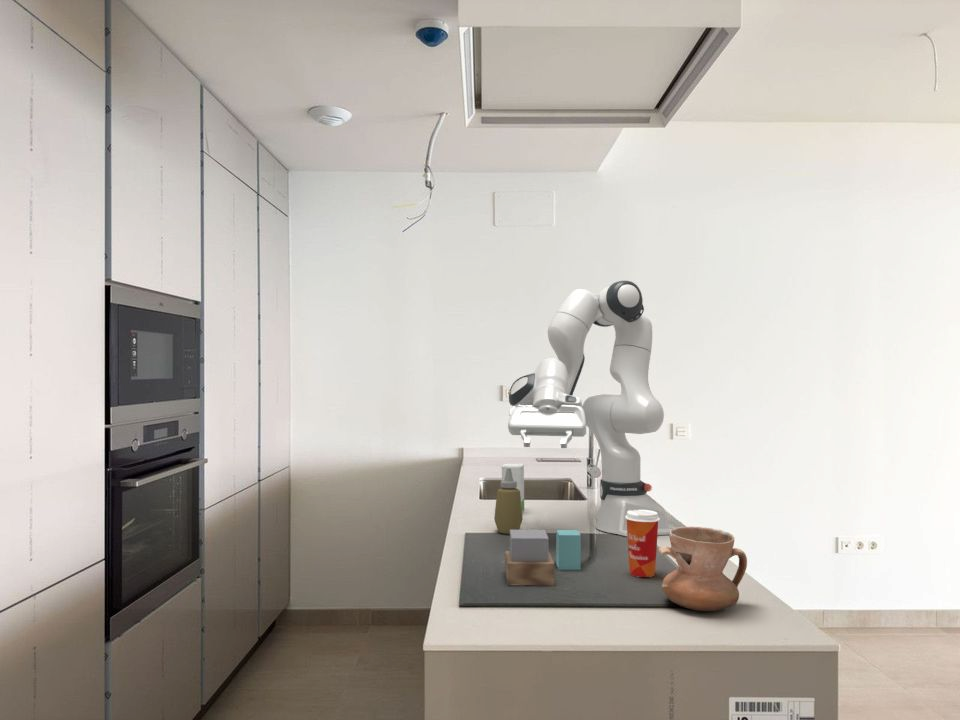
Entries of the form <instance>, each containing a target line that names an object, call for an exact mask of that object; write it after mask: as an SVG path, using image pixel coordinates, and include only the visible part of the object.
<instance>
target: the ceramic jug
mask: <svg viewBox="0 0 960 720" xmlns="http://www.w3.org/2000/svg"><path fill="white" fill-rule="evenodd" d="M668 535H669V541H670V546H671V547H670V546H669V547H668V546H661V547H660V548H658V553H659V555H660V556H667V555H668V556H670V557H672V558H673V559H675V561H676V564H677V566H678V568H676V569H675V570H673V571H671V572H670V573H668V574H666V575H665V577H664V578H663V580H662V583H661V590H662V592H663V594H664V596H665V597H666V598H667V599H668V600H669V601H671V602H672V603H673V604H675V605H677V606H680V607H682V608H686V609H688V610H693V611H698V612H718V611H719V612H720V611H723V610H727V609H729V608H731V607H732V606H735V605H736V604H737V602H738V600H739V597H740V592H739V591H740V590H739V589H738V586H739V585H740V583H741V582H742V580H743V578H744V576H745V573H746V570H747V567H748V558H747V555H746V553H745V552H744V550H742V549H740V548H737V547H734V545H735V536H734V534H732V533H730V532H727V531H724V530H722V529H718V528H712V527H703V526H691V525H690V526H681V527H680V526H679V527H675V528H674V529H671V530H670V533H669V534H668ZM734 556H737V557H738V567H737V570H736V572H735V575H734V577H733V579H730V578H729V577H727V576H726V574H724V573H723V571H724V569H725V567H726V566H727V563H728V561H729V559H731V558H732V557H734Z"/></svg>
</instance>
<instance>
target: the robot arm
mask: <svg viewBox="0 0 960 720" xmlns="http://www.w3.org/2000/svg"><path fill="white" fill-rule="evenodd" d="M643 301H644V300H643V295H642V291H641V289H640V287H639V286H638V285H637V284H636V283H635V282H632V281H631V280H630V281H629V280H618V281H616V282H613V283H612V284H610V285H608V286H606V287H604V288H603V289H601V290H600V291H599V292H597V293H594V292H592V291H591V290H588V289H584V288H577V289H574V290H572V291H571V292H570V293H569V295H568V296H567V297H566V298H565V299H564V301H563V302H562V303H561V305H560V306H559V308H557V310H556V312H555V314H554V315H553V317H552V319H551V320H550V322H549V325H548V328H547V337H548V341H549V342H548V343H549V344H550V346H551V348H552V350H553V351H554V353H555V355H556V356H557V358H555V357H554V358H553V357H546V358H544V359H541V361H540V362H539V364H538V366H537V367H536V368H535V370H534V371H533V372H532V373H529V374H526V375H523V376H521V377H519V378H517V379H516V380H514V381H513V383H512V384H511V386H510V389H509V393H508V402H509V405H510V406H512V407H510V410H509V419H508V422H507V428H508V433H510V435H512V436H520V437H521V440H522V441H523V447H524V448H530V447H531V438H530V437H528V436H531V437H532V436H534V437H535V436H540V437H564V438H561V439H560V448H561V449H567V448H568V444H569V443H570V442H571V440H572V439H573V438H574V437H577V438H579V437H581V438H582V437H585V436H586V435H587V428H588V429H589V430H591V432H592V434H593V435H594V437H595V439H596V441H597V443H598V446H599V450H600V451H599V452H600V457H601V478H600V482H599V483H600V484H599V498H600V504H599V505H600V506H599V513H598V517H597V518H598V519H597V522H596V525H595V528H596V529H597V530H599V531H601V532H606V533H609V534H615V535H616V534H617V535H619V536H624V537H627V519H626V518H625V516H626V515H627V512H628V511H629V510H631V511H632V510H650V511H655V512H657V513H658V517H659V518H660V520H659V521H658V534H657V536H662V535H663V536H666V535H669V533H670V530H671V529H674V528H676V527H675V526H674V525H673V524H672V523H670V522H669V519H668V515H667V512H666V509H665V508H664V507H663V506H662V505H661V504H660V503H658V502H657V501H656V500H655V499H654V498H652V497H651V496H650V495H649V494H647V493H648V492H651V491H652V489H653V487H652V484H650V483H646V482H645V481H643V480H641V455H640V452H639V451H638V449H636V448H635V447H633V446H632V444H630V442H628V439H627V437H626V434H633V435H643V434H651V433H655V432H657V431H658V430H659V429H660V428H661V427H662V425H663V423H664V419H665V418H664V416H665V412H664V408H663V405H662V404H661V402H659V400H658V399H657V398H656V397H655V396H654V394H653V392H652V390H651V387H650V384H649V369H650V362H651V361H650V360H651V354H652V346H653V324H652V322H651V320H650V319H649V318H648V317H646V316H645V315H643V313H644V311H645V308H644V307H645V306H644V305H643ZM593 324H594V325H595V326H598V327H603V328H604V327H605V328H607V327H612V326H613V328H614V332H615V335H614V336H615V340H614V341H613V342H614V344H613V349H612V354H611V355H612V356H611V360H610V365H609V373H610V375H611V377H612V378H613V379H614V380H615V381H616V382H618V383H619V384H620V388H621V390H620V391H621V393H620V394H604V393H603V394H602V393H601V394H598V395H593V396H589V397H588V398H586V399H585V400H584V402H582V399H581V397H578V396H575V395H573V394H574V392H575V389H576V387H577V383H578V381H579V378H580V376H581V373H582V371H583V367H584V364H585V359H586V357H585V353H584V352H585V351H584V347H585V343H586V338H587V335H588V334H589V331H590V330H591V328H592V326H593Z"/></svg>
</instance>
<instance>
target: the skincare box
mask: <svg viewBox="0 0 960 720" xmlns="http://www.w3.org/2000/svg"><path fill="white" fill-rule="evenodd" d="M524 465H525V464H524V463H505V464H502V466H501V481H504V479H505V474H506V470H507V468H510V469H511V472H512V477H513V481H516V482H517V487H516V488H517V489H518V490H519V491H520V496H521V507H522V514H524V512H525V466H524ZM523 511H524V512H523Z"/></svg>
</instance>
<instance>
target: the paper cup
mask: <svg viewBox="0 0 960 720" xmlns="http://www.w3.org/2000/svg"><path fill="white" fill-rule="evenodd" d="M625 518H626V519H627V536H626V538H627V554H628V567H629V575H630V574H631V576H632V575H634V576H633V577H635V576H639V577H638V578H640V577H650V578H652V577H651V576H654V577H655V575H656V574H655V573H656V565H657V564H656V563H657V547H658V535H657V534H658V521H659V520H660V518H659V517H658V513H657V512H655V511H650V510H632V511H631V510H629V511H628V512H627V515H626V516H625Z"/></svg>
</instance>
